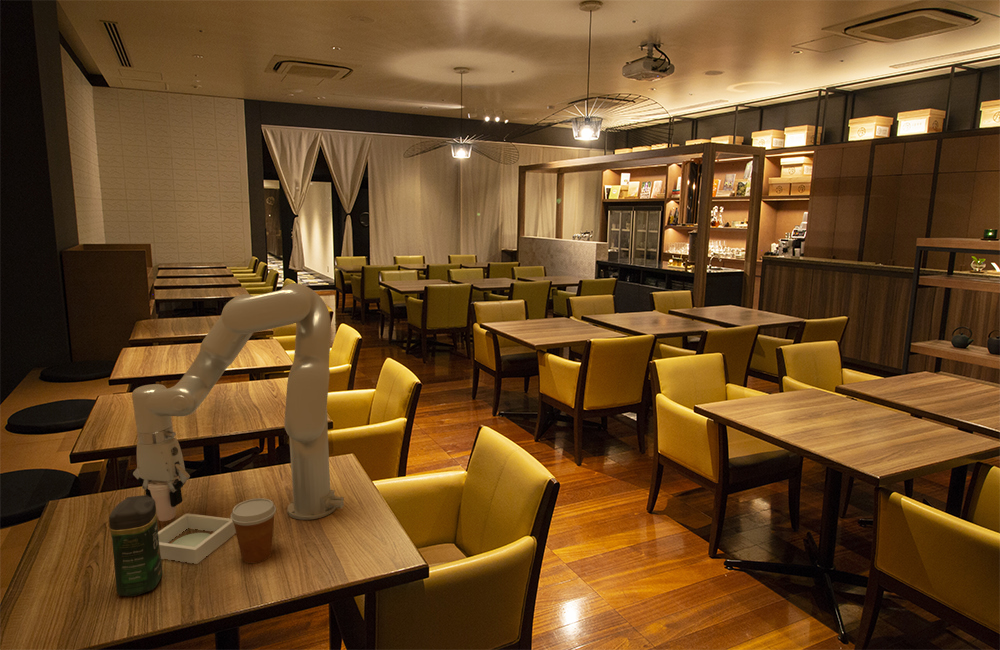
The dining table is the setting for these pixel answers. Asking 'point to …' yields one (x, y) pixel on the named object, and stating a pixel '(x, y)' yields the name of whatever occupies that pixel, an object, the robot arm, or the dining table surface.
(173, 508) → the smoothie
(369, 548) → the dining table surface
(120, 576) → the coffee jar
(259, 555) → the disposable coffee cup
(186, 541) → the pale green round spot
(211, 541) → the white square frame
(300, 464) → the robot arm
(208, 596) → the dining table surface
